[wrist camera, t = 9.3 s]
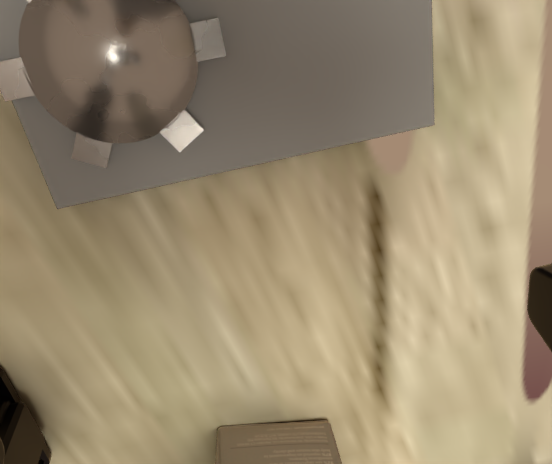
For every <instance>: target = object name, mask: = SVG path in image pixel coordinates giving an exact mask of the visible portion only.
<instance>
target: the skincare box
mask: <svg viewBox="0 0 552 464" xmlns="http://www.w3.org/2000/svg"><path fill="white" fill-rule="evenodd" d="M216 464H342V462H341V459H340V455H339V452H338V448H337V445H336V441H335V438H334V435H333V432H332V429H331V425H330V423H329V422H328V421H326V420H322V421H306V422H291V423H272V424H250V425H235V426H224V427H220V428H218V430H217V446H216Z"/></svg>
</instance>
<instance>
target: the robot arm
mask: <svg viewBox="0 0 552 464" xmlns="http://www.w3.org/2000/svg"><path fill="white" fill-rule="evenodd" d="M527 310H528V315H529V318H530V320H531V322H532V324H533V325H534V327H535V328H536V330H537V331H538V332H539V334H540V335H541V337H542V338H543V340H544V341H545V343H546V344H547V346H548V347H549V349H550V350H551V352H552V264H547V265H543V266H540V267H536V268H535V269H533V270H532V272H531V274H530V280H529V293H528V305H527ZM50 459H51V453H50V451H49V449H48V447H47V446H46V444H45V438H44V436H43V434H42V433H41V431H40V429H39V427H38V425H37V424H36V422H35V420H34V418H33V417H32V415H31V413H30V411H29V410H28V408H27V406H26V405H25V404H24V403H23V402H22V401H21V400H20V398H19V396H18V395H17V393H16V391H15V389H14V388H13V386H12V384H11V382H10V381H9V379H8V377H7V375H6V374H5V372H4V371H3V370H2V369H1V368H0V464H49V463H50Z"/></svg>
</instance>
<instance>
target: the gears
mask: <svg viewBox="0 0 552 464" xmlns="http://www.w3.org/2000/svg"><path fill="white" fill-rule="evenodd" d="M27 1H28V4H27V5H26V8H25V11H24V13H23V16H22V19H21V24H20V28H19V40H18V42H19V55H20V57H15V58H10V59H5V60H0V91H1V93H2V96H3V98H4V100H5V101H10V100H15V99H20V98H24V97H29V96H34V95H35V96H36V98H37V99H38V101H39V102H40V103H41V104H42V106H43V107H44V108H45V109H46V110H47V111H48V112H49V113H50V114H51V115H52V116H53V117H54V118H55V119H56V120H57V121H59V122H60V123H61V124H62V125H64V126H66V127H67V128H69V129H70V130H72V131H74V132H76V138H75V143H74V147H73V152H72V157H71V159H73V160H77V161H81V162H84V163H88V164H92V165H95V166H99V167H103V168H107V166H108V163H109V159H110V155H111V151H112V147H113V143H132V142H138V141H142V140H145V139H148V138H150V137H153V136H155V135H157V134H159V133H161V134H162V135H163V136H164V137H165V138H166V139H167V140H168V141H169V142H170V143H171V144H172V145H173V146H174V147H175V148H176V149H177V150H178V151H179V152H181V151H182V150H183V149H184V148H185V147H186V146H187V145H188V144H189V143H191V142H192V141H193V140H194V139H195V138H196V137H197V136H198V135H199V134H200V133H202V132H203V131H204V127H203V125H202V124H201V123H200V122H199V121H198V120H197V119H196V118H195V117H194V116H193V115H192V114H191V113H190V112H189V111H188V109H187V108H186V107H187V105H188V104H189V102H190V100H191V98H192V95H193V92H194V90H195V86H196V82H197V77H198V62H200V61H205V60H209V59H214V58H219V57H224V56H226V51H225V46H224V42H223V37H222V32H221V27H220V22H219V18H218V17H215V18H210V19H205V20H200V21H195V22H190V23H189V21H188V19H187V17H186V16H185V14H184V12H183V10H182V9H181V7H180V6H179V5H178V3H177V2H176V1H175V0H27Z"/></svg>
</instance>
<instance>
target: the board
mask: <svg viewBox="0 0 552 464" xmlns="http://www.w3.org/2000/svg"><path fill="white" fill-rule="evenodd" d="M175 1H176V2H177V3H178V5H179V6H180V7H181V9H182V10H183V12H184V14H185V16H186V17H187V19H188V21H189V23H190V22H195V21H200V20H205V19H210V18H215V17H218V18H219V22H220V27H221V32H222V37H223V42H224V46H225V51H226V56H224V57H219V58H214V59H209V60H205V61H200V62H198V77H197V82H196V86H195V90H194V92H193V95H192V98H191V100H190V102H189V104H188V105H187V107H186V108H187V109H188V111H189V112H190V113H191V114H192V115H193V116H194V117H195V118H196V119H197V120H198V121H199V122H200V123H201V124H202V125H203V127H204V131H203V132H202V133H200V134H199V135H198V136H197V137H196V138H195V139H194V140H193V141H192V142H191V143H189V144H188V145H187V146H186V147H185V148H184V149H183V150H182V151H181V152H179V151H178V150H177V149H176V148H175V147H174V146H173V145H172V144H171V143H170V142H169V141H168V140H167V139H166V138H165V137H164V136H163V135H162V134H161V133H159V134H157V135H155V136H153V137H150V138H148V139H145V140H142V141H138V142H132V143H113V147H112V151H111V155H110V159H109V163H108V166H107V168H103V167H99V166H95V165H92V164H88V163H84V162H81V161H77V160H73V159H71V157H72V152H73V147H74V143H75V138H76V132H74V131H72V130H70V129H69V128H67V127H66V126H64V125H62V124H61V123H60V122H59V121H57V120H56V119H55V118H54V117H53V116H52V115H51V114H50V113H49V112H48V111H47V110H46V109H45V108H44V107H43V106H42V104H41V103H40V102H39V101H38V99H37V98H36V96H35V95H34V96H29V97H24V98H20V99H15V100H12V102H13V105H14V107H15V109H16V112H17V114H18V117H19V119H20V121H21V124H22V126H23V129H24V131H25V133H26V136H27V138H28V140H29V143H30V145H31V148H32V150H33V152H34V155H35V157H36V160H37V162H38V164H39V167H40V169H41V172H42V174H43V176H44V179H45V181H46V184H47V186H48V188H49V191H50V193H51V196H52V198H53V200H54V203H55V205H56V207H57V209H60V208H64V207H69V206H73V205H78V204H82V203H87V202H91V201H96V200H100V199H105V198H109V197H114V196H118V195H123V194H127V193H132V192H136V191H141V190H145V189H150V188H154V187H159V186H163V185H168V184H172V183H177V182H181V181H186V180H190V179H195V178H199V177H204V176H208V175H213V174H217V173H222V172H226V171H231V170H235V169H240V168H244V167H249V166H253V165H258V164H262V163H267V162H271V161H276V160H280V159H285V158H289V157H294V156H298V155H302V154H307V153H311V152H316V151H320V150H325V149H329V148H334V147H338V146H343V145H347V144H352V143H356V142H361V141H365V140H370V139H374V138H379V137H383V136H388V135H392V134H397V133H401V132H406V131H410V130H415V129H419V128H424V127H428V126H433V125H434V83H433V39H432V0H175ZM27 4H28V1H27V0H0V60H5V59H10V58H15V57H20V55H19V42H18V40H19V28H20V24H21V19H22V16H23V13H24V11H25V8H26V5H27Z"/></svg>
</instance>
